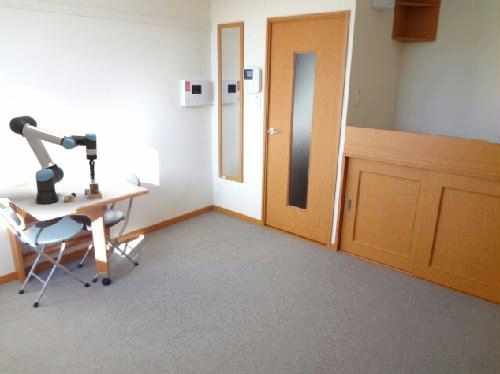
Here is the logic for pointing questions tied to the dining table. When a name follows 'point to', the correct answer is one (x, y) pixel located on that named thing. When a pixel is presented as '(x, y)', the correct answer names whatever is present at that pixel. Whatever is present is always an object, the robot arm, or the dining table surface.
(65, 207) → the dining table surface
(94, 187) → the walnut block
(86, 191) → the grey plastic cylinder
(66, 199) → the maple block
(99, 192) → the terracotta stand
